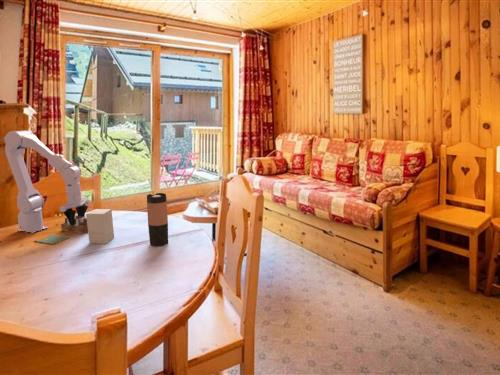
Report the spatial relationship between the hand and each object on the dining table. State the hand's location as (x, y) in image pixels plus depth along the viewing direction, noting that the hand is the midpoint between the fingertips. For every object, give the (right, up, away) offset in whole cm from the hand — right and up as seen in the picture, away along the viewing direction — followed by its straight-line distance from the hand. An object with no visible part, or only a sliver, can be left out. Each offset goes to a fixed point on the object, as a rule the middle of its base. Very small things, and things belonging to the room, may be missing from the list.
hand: (76, 223), depth 154 cm
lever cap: (0, 0, 0) cm, 0 cm away
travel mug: (+41, -7, -15) cm, 44 cm away
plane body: (0, -3, +1) cm, 3 cm away
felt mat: (-5, -6, -11) cm, 13 cm away
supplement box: (+16, -6, -12) cm, 21 cm away
